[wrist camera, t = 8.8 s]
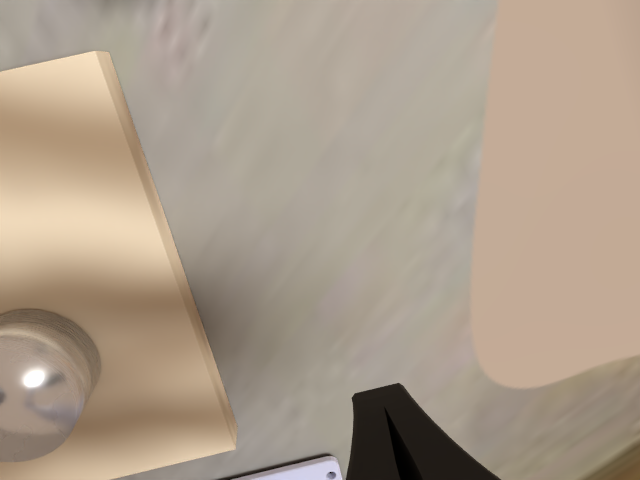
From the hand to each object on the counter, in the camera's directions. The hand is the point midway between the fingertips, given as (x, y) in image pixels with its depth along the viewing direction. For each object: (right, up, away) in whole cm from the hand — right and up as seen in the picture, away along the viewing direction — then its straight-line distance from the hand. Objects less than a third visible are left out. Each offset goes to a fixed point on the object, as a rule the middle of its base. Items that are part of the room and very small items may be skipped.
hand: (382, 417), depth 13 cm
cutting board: (-14, +2, +8) cm, 16 cm away
